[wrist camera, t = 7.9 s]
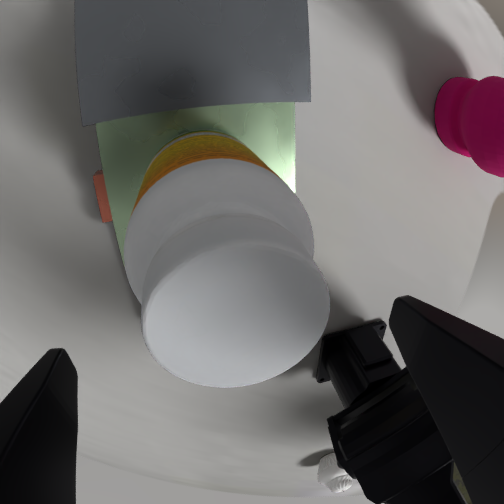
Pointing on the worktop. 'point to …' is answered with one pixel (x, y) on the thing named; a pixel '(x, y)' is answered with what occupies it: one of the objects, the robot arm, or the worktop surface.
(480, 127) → the pepper mill
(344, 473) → the muffin
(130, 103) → the stand
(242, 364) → the supplement bottle
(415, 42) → the worktop surface
